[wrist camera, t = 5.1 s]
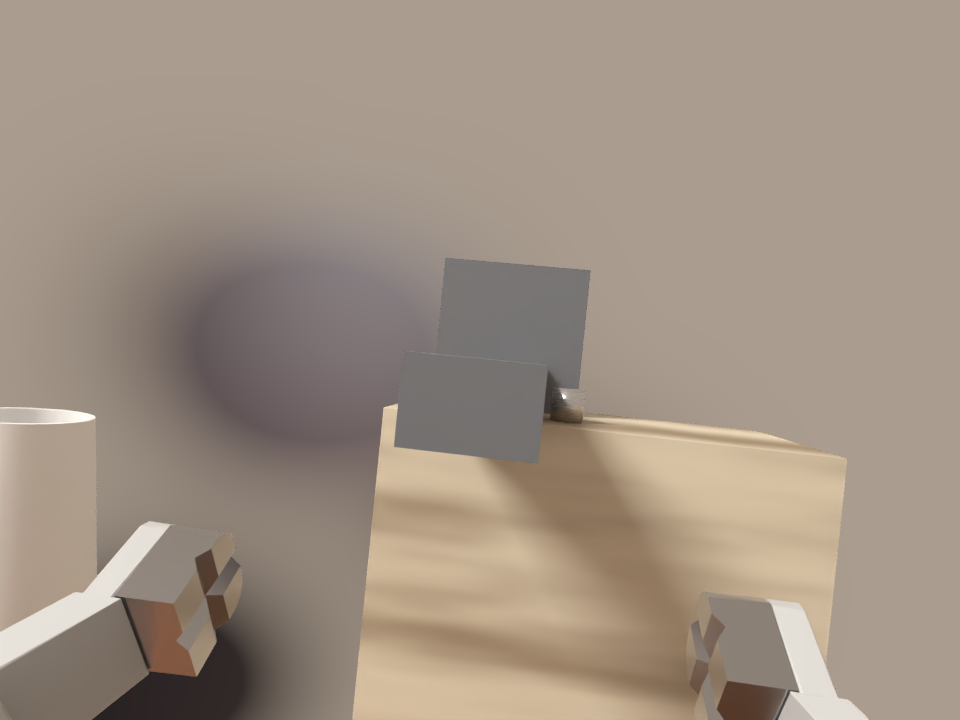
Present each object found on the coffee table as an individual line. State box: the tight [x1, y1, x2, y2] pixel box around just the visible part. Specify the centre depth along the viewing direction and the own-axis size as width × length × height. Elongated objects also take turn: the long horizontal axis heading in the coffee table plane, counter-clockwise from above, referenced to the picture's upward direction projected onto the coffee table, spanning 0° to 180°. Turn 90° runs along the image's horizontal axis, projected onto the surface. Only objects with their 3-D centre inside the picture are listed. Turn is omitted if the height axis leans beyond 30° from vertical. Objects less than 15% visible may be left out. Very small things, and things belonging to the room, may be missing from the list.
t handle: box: [394, 258, 590, 464], centre depth 21 cm, size 16×6×6 cm, turn 174°
